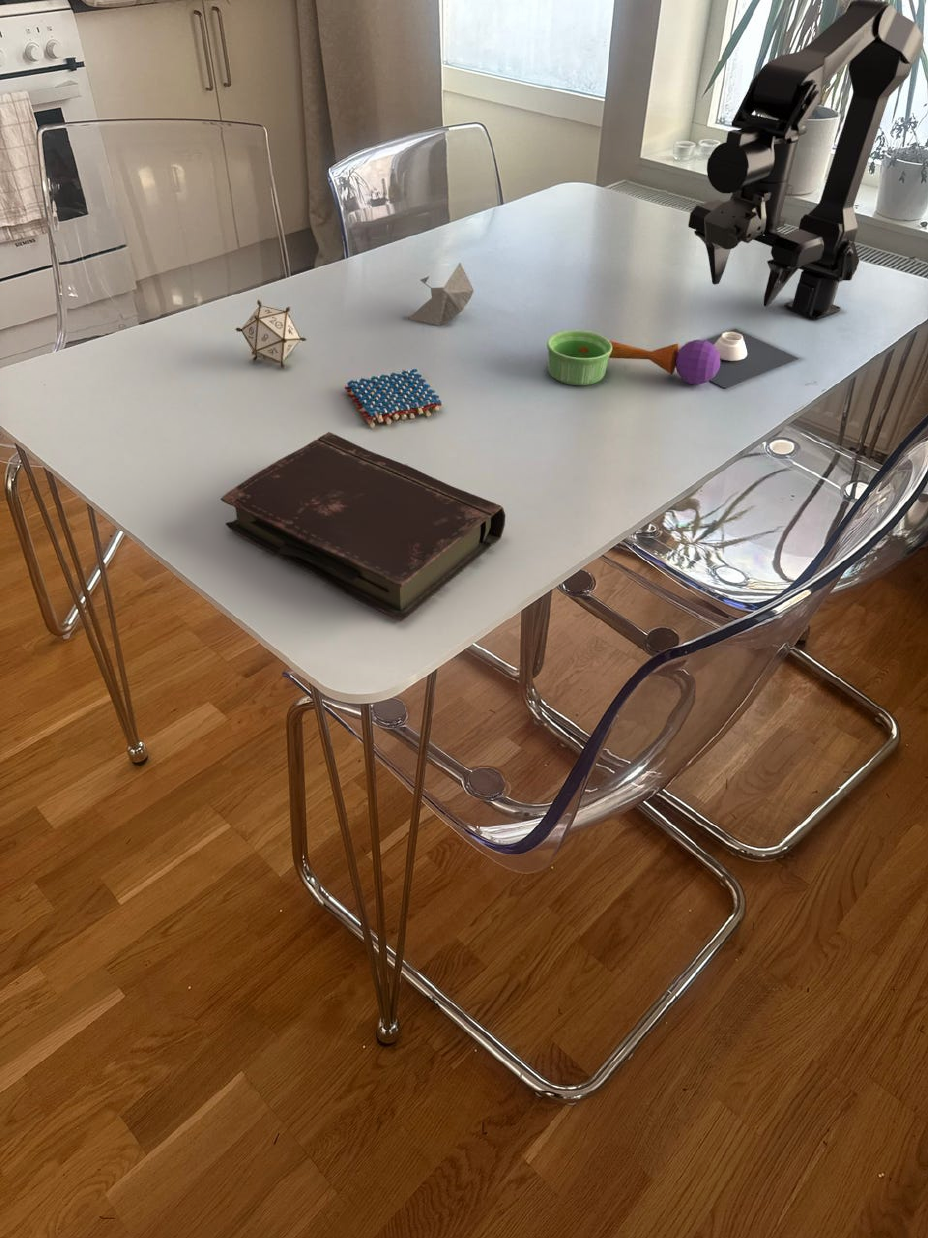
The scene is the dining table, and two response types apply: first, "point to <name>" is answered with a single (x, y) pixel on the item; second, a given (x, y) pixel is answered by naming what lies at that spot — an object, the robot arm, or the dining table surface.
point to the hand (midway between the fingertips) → (740, 294)
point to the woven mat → (392, 396)
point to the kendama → (675, 359)
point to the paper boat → (446, 299)
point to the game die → (271, 334)
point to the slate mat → (749, 361)
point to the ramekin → (578, 357)
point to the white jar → (731, 346)
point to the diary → (365, 522)
